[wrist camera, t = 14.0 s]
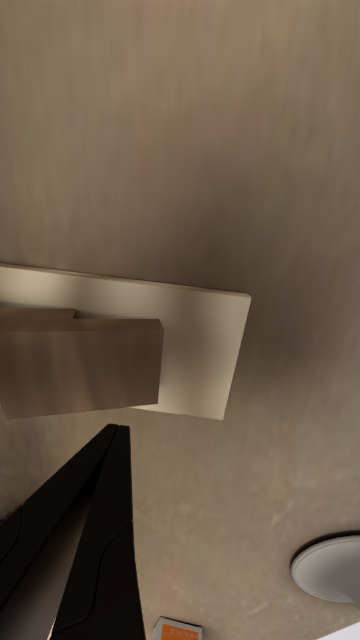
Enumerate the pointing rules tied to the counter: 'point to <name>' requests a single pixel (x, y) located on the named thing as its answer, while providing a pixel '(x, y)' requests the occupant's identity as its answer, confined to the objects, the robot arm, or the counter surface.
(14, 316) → the domino
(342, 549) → the chalice
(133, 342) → the domino
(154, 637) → the skincare box
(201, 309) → the domino board
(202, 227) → the counter surface
